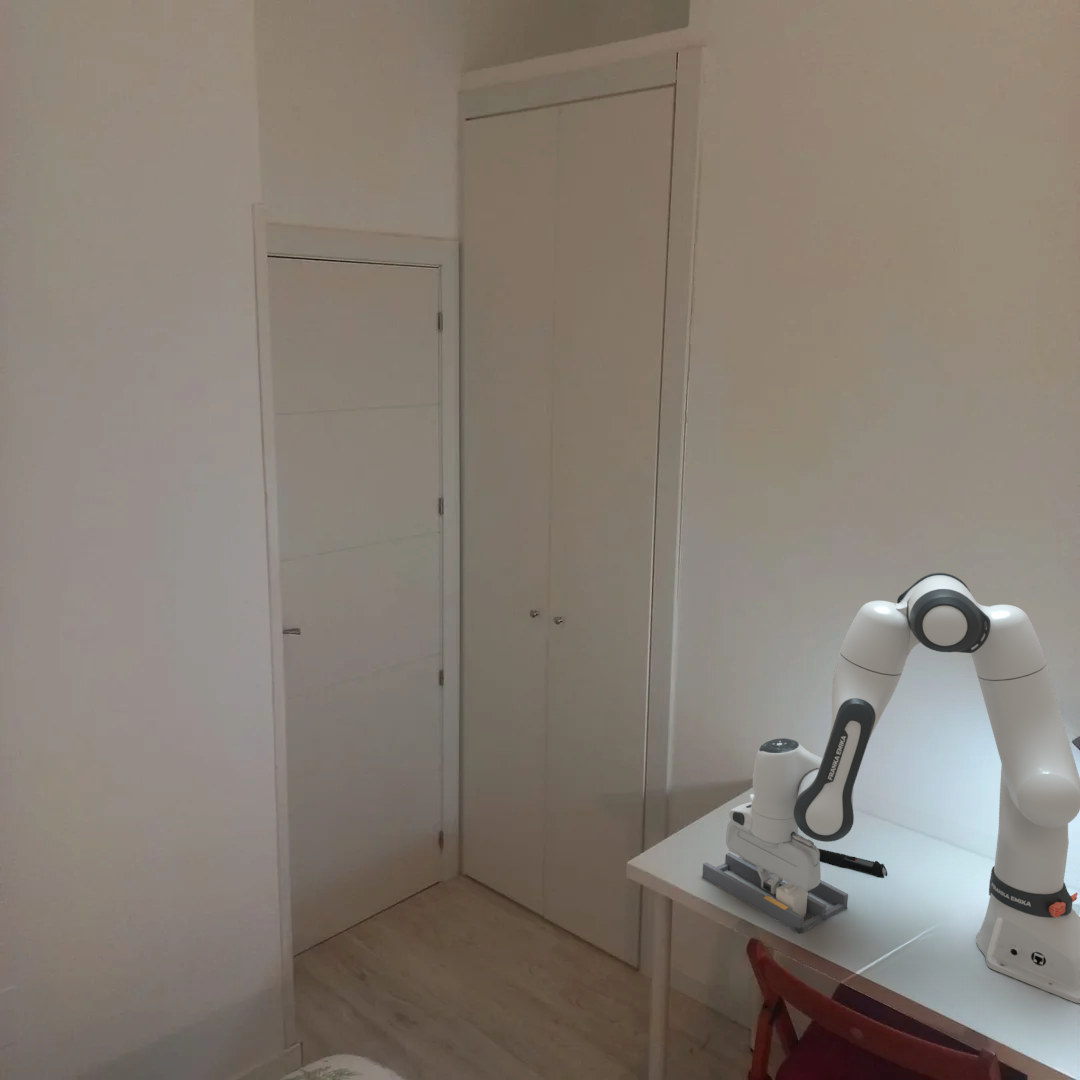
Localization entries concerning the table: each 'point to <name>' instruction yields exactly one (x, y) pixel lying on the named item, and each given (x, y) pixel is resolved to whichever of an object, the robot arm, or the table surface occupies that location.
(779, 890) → the white boxy block
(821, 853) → the electric trimmer
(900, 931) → the table surface
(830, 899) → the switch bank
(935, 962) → the table surface
